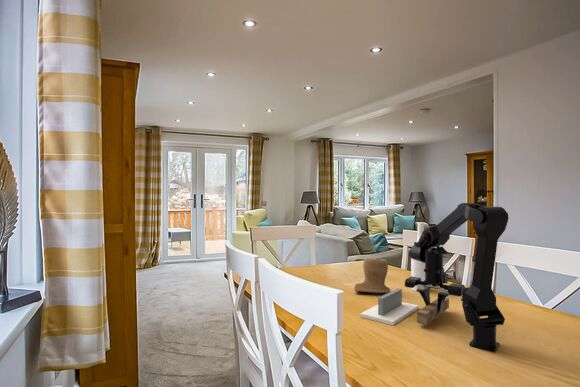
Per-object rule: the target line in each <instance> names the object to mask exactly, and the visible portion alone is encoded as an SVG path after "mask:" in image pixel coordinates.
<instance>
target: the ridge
mask: <svg viewBox="0 0 580 387" xmlns="http://www.w3.org/2000/svg"><path fill="white" fill-rule="evenodd" d="M377 298H378V299H377V300H378V302H377V304H376V305H374V306H372V307H370V308H368V309H366V310H365V311H362V312H361V313H360V316H359V317H361V318H363V319H367V320H371V321H375V322H378V323H382V324H386V325H390V326H394V325H397V323H399V322H401V321H402V320H404V319H406V318H407V317H408V316H409V315H411V314H413V313H414V312H417V311H418V310H420V309H419V304H414V303H409V302H404V301H403V289H402V288H395V289H393V290H390V292H389V293H384V294H383V295H381V296H379V297H377Z"/></svg>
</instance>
